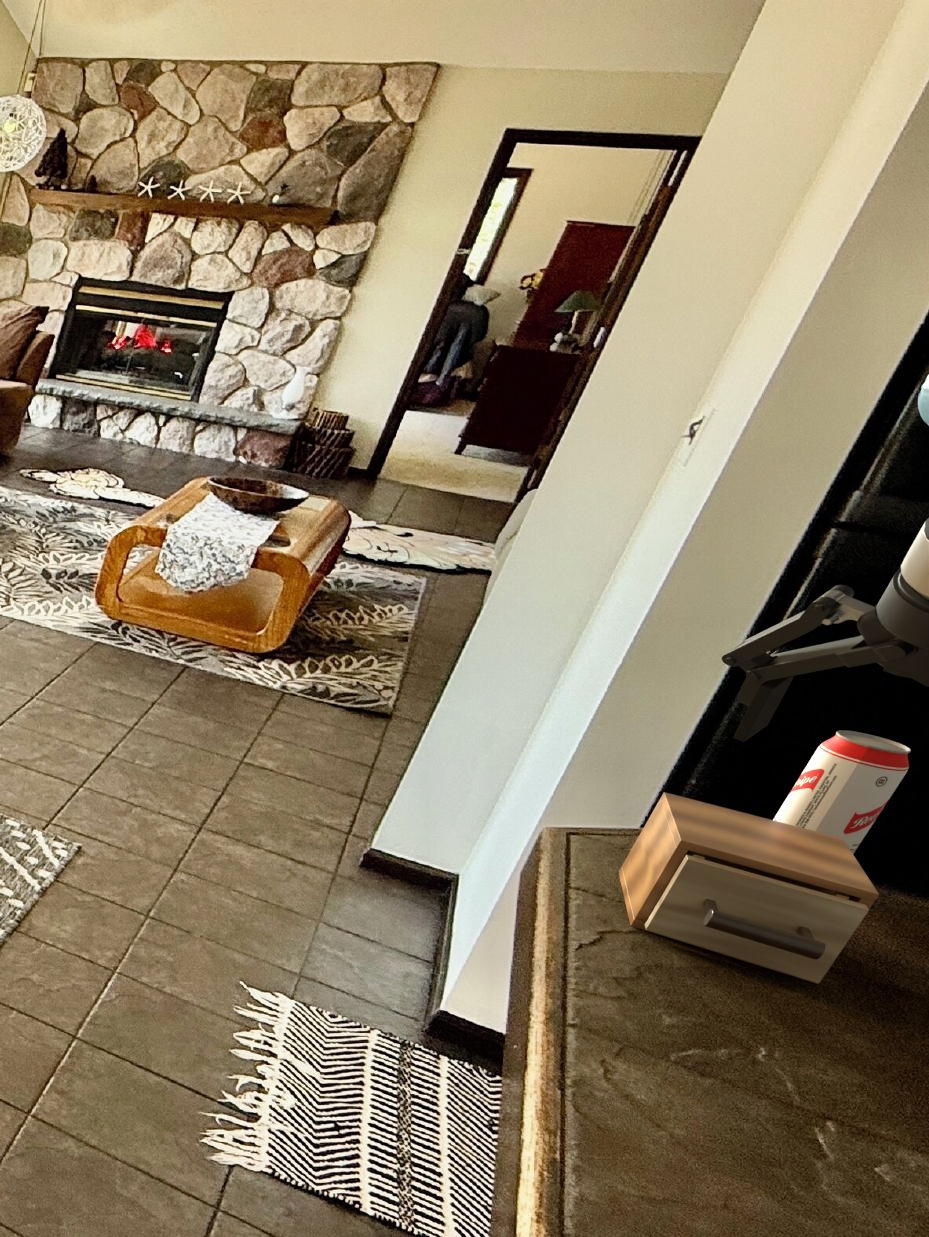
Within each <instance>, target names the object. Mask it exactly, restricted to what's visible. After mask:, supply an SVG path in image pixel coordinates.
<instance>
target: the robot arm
mask: <svg viewBox="0 0 929 1237" xmlns="http://www.w3.org/2000/svg"><path fill="white" fill-rule="evenodd" d="M917 407H918V411H919V415H920V417H921V419H922V420H923V422H924V423H925V424H927V425H928V426H929V374H928V375H927V376H926V378H925V379H924V383H923V384H922V385H921V390H920V392H918V397H917ZM854 595H855V591H854V590H853V588H852V587H850V586H848V585H845V584H838V585H835V586H833V587H831V589H830V590H828V591H826V592H825V593H824V594H822V595H820V596H819V597H818V598H816V599H815V600H814V601H813V602H811V603H810V604H809V605H808V606H807V607H806V609H804V610H803V611H801V612H799V613H798V614H795V615H793V616H791V617H789V618H787V619H785V620H783V621H780V622H779V623H777V624H775V625H773V626H771V627H769V628H767V629H765V630H763V631H760V632H759V633H756V634H755V635H752V636H751V637H749V638H746V639H745V640H743V641H742V642H740V643H738V644H737V645H736V646H735V647H733V648H732V649H730V650H729V651H728V652H727V653H725V654H724V655H722V656H721V661H722V663H724V664H725V665H727V666H728V667H735V668H736V667H739V668H740V669H742V670H743V672H745V676H746V678H745V680H744V682H743V684H742V686H741V687H740V690H739V692H738V694H737V695H736V699H737V702H738V703H740V704H743V705H744V706H748V707H747V709H746V711H745V713H744V716H743V717H742V719H741V721H740V723H739V725H738V727H737V728H736V730H735V733H734V734H733V736H732V738H733V739H735V740H737V741H739V742H742V743H745V742H747V741H748V740H749V739H751V738H752V737H754V736H755V735H756V734H758V733H759V732H760V731H762V730H763V729H764V728H766V727H768V725H769V724H770V722H771V720H772V718H773V716H774V714H775V712H776V711H777V709H778V707H779V705H780V703H781V702H782V700H783V698H784V696H785V695H786V692H787V690H788V689H789V687H790V685H791V683H792V681H793V680H794V677H795V676H799V675H805V674H810V673H815V672H821V671H826V670H830V669H835V668H836V669H837V668H841V667H842V668H843V667H847V668H854V667H859V666H865V665H870V664H875V663H877V664H878V665H879V666H881V667H882V668H883V669H882V671H883V672H885V673H888V674H891V675H894V676H897V677H902V678H908V679H911V680H914V681H916V682H917V683H919V684H921V685H923V686H925V687H928V688H929V517H928V518H927V519H926V520H925V521H924V523H923V525H922V527H921V528H920V530H919V532H918V533H917V535H916V537H915V539H914V540H913V542H912V544H911V546H910V547H909V549H908V551H907V552H906V555H905V556H904V558H903V561H902V562H901V564H900V567H899V568H898V569H897V570H896V572H895V573H894V575H893V577H892V578H891V580H890V582H889V583H888V586H887V587H886V588H885V591H884V592H883V594H882V596H881V598H880V599H879V601H878V603H877V604H876V605H874V606H873V605H871V604H868V603H866V602H863V601H861V600H859V599H856V598H853V597H854ZM845 621H855V622H856V627H857V629H858V631H859V633H860V635H858V636H854V637H849V638H844V639H839V640H834V641H830V642H826V643H825V642H824V643H821V644H816V645H815V644H814V645H810V646H805V647H802V648H797V649H792V650H787V651H784V652H780V649H777V650H775V651H774V652H772V653H771V654H769V653H768V652H770V651H772V650H774V649H776V648H779V647H780V646H782V645H785V644H787V643H790V642H791V641H794V640H796V639H797V638H800V637H802V636H804V635H806V634H808V633H810V632H812V631H814V630H815V629H816V628H818V627H819V626H821V625H822V624H823V625H824V626H831V625H833V624H838V625H839V624H841V623H844V622H845Z"/></svg>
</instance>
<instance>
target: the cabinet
mask: <svg viewBox="0 0 929 1237" xmlns="http://www.w3.org/2000/svg"><path fill="white" fill-rule="evenodd" d="M688 850H689V851H692V852H696V853H700V854H703V855H707V856H711V857H714V858H718V859H721V860H725V861H729V862H732V863H736V864H739V865H743V866H747V867H750V868H754V869H757V870H761V871H765V872H768V873H772V874H775V875H779V876H783V877H786V878H790V879H793V880H797V881H801V882H804V883H808V884H811V885H815V886H819V887H822V888H826V889H829V890H833V891H837V892H840V893H844V894H848V896H849V900H850V901H854V902H858V903H861V904H865V905H866V906H867V907H868V909H869V910H870V909H871V908H872V906H873V905H874V903H875V902H876V900H877V899H878V897H879V896H880V894H879V892H878V890H877V888H876V887H875V886H874V884H873V882H872V881H871V880H870V878H869V877H868V875H867V874H866V872H865V870H864V868H863V867H862V866H861V864H860V863H859V861H858V860H857V858H856V856H855V855H854V854H852V852H851V850H850V849H849V847H848V846H847V844H846V843H845V841H844V840H843V838H839V837H835V836H831V835H828V834H824V833H820V832H816V831H812V830H808V829H804V828H801V827H797V826H793V825H789V824H785V823H781V822H777V821H773V819H769V818H765V817H761V816H758V815H754V814H750V813H747V812H742V811H738V810H736V809H731V808H728V807H722V806H719V805H716V804H712V803H707V802H703V801H700V800H697V799H692V798H688V797H684V796H681V795H677V794H673V793H668V792H662V795H661V797H660V799H659V800H658V802H657V804H656V806H654V809H653V810H652V813H651V814H650V816H649V818H648V819H647V821H646V823H645V825H644V827H643V828H642V830H641V831H640V834H639V835H638V836H637V838H636V840H635V842H634V844H633V846H632V847H631V849H630V851H629V853H628V854H627V856H626V858H625V860H624V861H623V863H622V864H621V865H622V866H621V867H620V868H619V871H618V872H619V873H618V876H619V881H620V885H621V890H622V893H623V899H624V904H625V908H626V912H627V917H628V921H629V925H630V927H632V928H635V929H638V930H642V931H645V932H648V933H651V934H654V935H658V936H661V937H665V938H667V939H670V940H674V941H677V942H680V943H684V944H687V945H690V946H694V947H697V948H700V949H703V950H707V951H710V952H712V953H715V954H719V955H722V956H725V957H728V958H732V959H735V960H738V961H742V962H745V963H748V964H751V965H753V966H757V967H761V968H764V969H768V970H771V971H773V972H777V973H780V974H783V975H786V976H790V977H793V978H796V979H799V980H802V981H806V982H809V983H812V984H816V985H818V984H820V983H816V982H812V981H809V980H806V979H803V978H799V977H796V976H793V975H790V974H787V973H783V972H780V971H777V970H774V969H770V968H767V967H764V966H761V965H758V964H754V963H751V962H748V961H745V960H741V959H738V958H735V957H732V956H729V955H725V954H722V953H719V952H716V951H712V950H709V949H706V948H703V947H700V946H696V945H693V944H690V943H687V942H683V941H680V940H677V939H674V938H671V937H667V936H664V935H661V934H658V933H654V932H651V931H648V930H646V928H645V923H646V922H647V920H648V918H649V917H650V915H651V913H652V912H653V909H654V907H655V906H656V904H657V902H658V900H659V899H660V897H661V895H662V894H663V892H664V890H665V889H666V887H667V885H668V884H669V882H670V880H671V879H672V877H673V875H674V873H675V872H676V870H677V868H678V867H679V865H680V863H681V862H682V860H683V858H684V857H685V855H686V853H687V852H688Z"/></svg>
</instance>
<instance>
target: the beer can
mask: <svg viewBox="0 0 929 1237" xmlns="http://www.w3.org/2000/svg"><path fill="white" fill-rule="evenodd" d="M911 752H912V750H911V748H910V747H908V746H906V745H905V744H902V743H900V742H896V741H894V740H891V739H888V738H884V737H881V736H878V735H877V736H876V735H873V734H868V733H863V732H859V731H853V730H837V731H836V732H835V735H834V736H832V737H831V738H829V739H827V740H825V741H823V742H822V743H821V744H819V745H818V747H817V748H816V750H815V751H814V753H813V755H812V756H811V757H810V760H809V761H808V763H807V765H806V766H805V767H804V769H803V771H802V772H801V774H800V775H799V777H798V779H797V781H796V782H795V784H794V786H793V787H792V789H791V790H790V792H789V793H788V795H787V797H786V798H785V800H784V801H783V803H782V805H781V806H780V808H779V809H778V811H777V813H776V814H775V815H774V817H773V819H772V820H773V821H777V822H781V823H785V824H789V825H793V826H797V827H801V828H804V829H808V830H812V831H816V832H820V833H824V834H828V835H831V836H835V837H839V838H843V840H844V841H845V843H846V844H847V846H848V847H849V849H850V850H851V852H852V854H853V855H854V854H855V853H856V851H857V849H858V847H859V846H860V845H861V843H862V842H863V840H864V838H865V837H866V835H867V834H868V832H869V831H870V829H871V828H872V826H873V825H874V823H875V822H876V820H877V819H878V817H879V815H880V814H881V812H882V811H883V809H884V808H885V806H886V805H887V803H888V802H889V800H890V799H891V797H892V796H893V794H894V792H895V791H896V790H897V789H898V787H899V784H900V783H901V782H902V781H903V779H904V777H905V775H906V774H907V773H908V771H909V768H910V762H909V758H908V756H909V753H911Z"/></svg>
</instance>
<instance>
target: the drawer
mask: <svg viewBox="0 0 929 1237" xmlns="http://www.w3.org/2000/svg"><path fill="white" fill-rule="evenodd" d="M868 912H870V909H868V907H867V906H866V905H865V904H861V903H858V902H854V901H850V900H849V896H848V894H844V893H840V892H837V891H833V890H829V889H826V888H822V887H819V886H815V885H811V884H808V883H804V882H801V881H797V880H793V879H790V878H786V877H783V876H779V875H775V874H772V873H768V872H765V871H761V870H757V869H754V868H750V867H747V866H743V865H739V864H736V863H732V862H729V861H725V860H721V859H718V858H714V857H711V856H707V855H703V854H700V853H696V852H692V851H689V850H688V852H687V853H686V855H685V857H684V858H683V860H682V862H681V863H680V865H679V867H678V868H677V870H676V872H675V873H674V875H673V877H672V879H671V880H670V882H669V884H668V885H667V887H666V889H665V890H664V892H663V894H662V895H661V897H660V899H659V900H658V902H657V904H656V906H655V907H654V909H653V912H652V913H651V915H650V917H649V918H648V920H647V922H646V923H645V928H646V930H648V931H651V932H654V933H658V934H661V935H664V936H667V937H671V938H674V939H677V940H680V941H683V942H687V943H690V944H693V945H696V946H700V947H703V948H706V949H709V950H712V951H716V952H719V953H722V954H725V955H729V956H732V957H735V958H738V959H741V960H745V961H748V962H751V963H754V964H758V965H761V966H764V967H767V968H770V969H774V970H777V971H780V972H783V973H787V974H790V975H793V976H796V977H799V978H803V979H806V980H809V981H812V982H816V983H819V984H820V983H821V982H822V980H823V979H824V977H825V976H826V974H827V973H828V972H829V970H830V968H831V967H832V966H833V964H834V962H835V961H836V959H837V958H838V957H839V955H840V953H841V952H842V950H843V949H844V948H845V946H846V945H847V943H848V942H849V940H850V939H851V938H852V936H853V934H854V933H855V932H856V930H857V929H858V927H859V926H860V924H861V923H862V921H863V920H864V918H865V917H866V915H867V914H868ZM648 931H647V932H648ZM651 932H650V933H651ZM654 933H653V934H654ZM658 934H657V935H658ZM661 935H660V936H661ZM664 936H663V937H664ZM667 937H666V938H667ZM671 938H670V939H671ZM674 939H673V940H674ZM677 940H676V941H677ZM680 941H679V942H680ZM683 942H682V943H683ZM687 943H686V944H687ZM690 944H689V945H690ZM693 945H692V946H693ZM696 946H695V947H696ZM703 948H702V949H703ZM706 949H705V950H706ZM709 950H708V951H709ZM712 951H711V952H712ZM716 952H715V953H716ZM719 953H718V954H719ZM722 954H721V955H722ZM725 955H724V956H725ZM732 957H731V958H732ZM735 958H734V959H735ZM738 959H737V960H738ZM741 960H740V961H741ZM745 961H744V962H745ZM748 962H747V963H748ZM751 963H750V964H751ZM754 964H753V965H754ZM761 966H760V967H761ZM764 967H763V968H764ZM767 968H766V969H767ZM770 969H769V970H770ZM777 971H776V972H777ZM780 972H779V973H780ZM783 973H782V974H783ZM790 975H789V976H790ZM793 976H792V977H793ZM796 977H795V978H796ZM799 978H798V979H799ZM806 980H805V981H806ZM809 981H808V982H809ZM812 982H811V983H812Z"/></svg>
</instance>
